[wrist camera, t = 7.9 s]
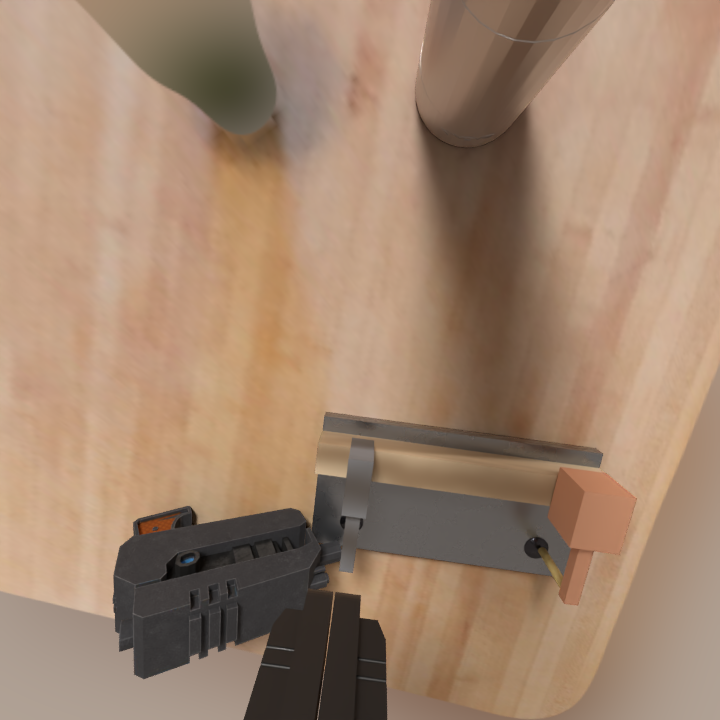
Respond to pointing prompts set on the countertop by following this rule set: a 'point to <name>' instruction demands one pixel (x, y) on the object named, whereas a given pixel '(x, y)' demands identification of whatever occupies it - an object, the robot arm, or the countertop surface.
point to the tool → (211, 582)
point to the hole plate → (448, 504)
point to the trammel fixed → (427, 475)
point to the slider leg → (586, 524)
